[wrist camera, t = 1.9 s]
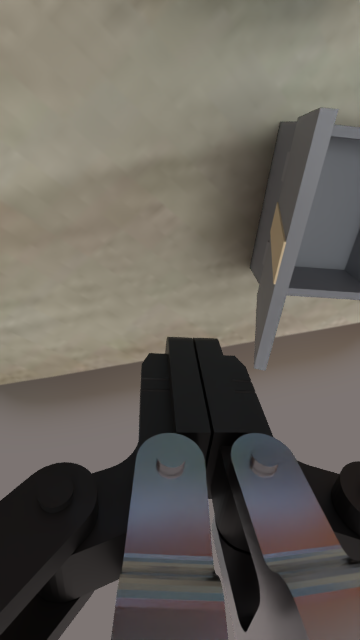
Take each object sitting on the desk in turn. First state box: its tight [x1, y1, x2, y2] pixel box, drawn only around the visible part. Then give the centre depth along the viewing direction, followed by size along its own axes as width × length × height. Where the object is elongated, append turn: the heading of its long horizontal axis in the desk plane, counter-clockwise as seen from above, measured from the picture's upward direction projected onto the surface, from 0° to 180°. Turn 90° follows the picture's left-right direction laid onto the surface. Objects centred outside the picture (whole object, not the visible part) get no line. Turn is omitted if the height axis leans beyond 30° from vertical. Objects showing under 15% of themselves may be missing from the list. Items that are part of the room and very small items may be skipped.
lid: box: [254, 108, 338, 370], centre depth 25 cm, size 12×15×1 cm
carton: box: [250, 122, 360, 300], centre depth 34 cm, size 12×15×7 cm
